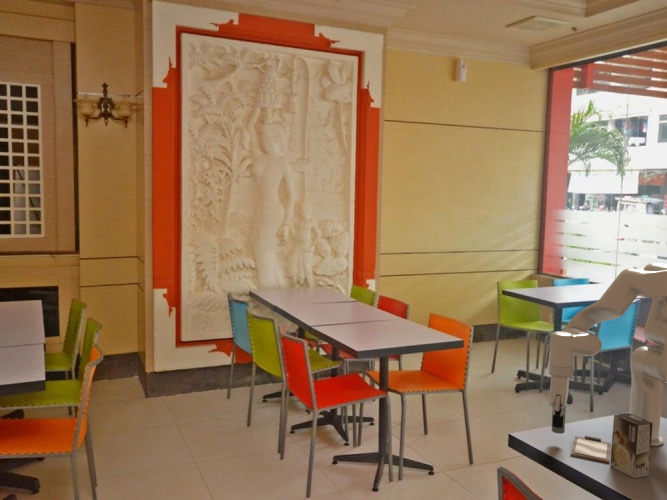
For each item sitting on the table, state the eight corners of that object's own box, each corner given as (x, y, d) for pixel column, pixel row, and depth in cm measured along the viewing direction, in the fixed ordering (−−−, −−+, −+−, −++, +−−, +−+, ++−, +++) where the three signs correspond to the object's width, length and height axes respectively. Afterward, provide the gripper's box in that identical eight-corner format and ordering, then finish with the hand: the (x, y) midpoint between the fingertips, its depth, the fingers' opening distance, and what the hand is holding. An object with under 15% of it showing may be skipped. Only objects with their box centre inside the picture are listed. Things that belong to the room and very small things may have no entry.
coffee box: (649, 475, 180) (654, 422, 179) (634, 479, 178) (638, 425, 176) (623, 462, 189) (628, 412, 187) (608, 465, 186) (612, 414, 185)
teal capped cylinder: (552, 427, 203) (553, 401, 202) (565, 430, 201) (566, 403, 201) (550, 432, 200) (551, 405, 199) (564, 434, 198) (565, 407, 197)
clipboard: (575, 438, 206) (575, 433, 206) (610, 445, 202) (611, 440, 201) (570, 455, 192) (571, 450, 192) (609, 463, 187) (609, 458, 187)
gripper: (551, 362, 208) (549, 414, 209) (545, 375, 193) (542, 431, 194) (575, 365, 204) (572, 418, 206) (570, 378, 189) (568, 436, 191)
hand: (558, 424), depth 200 cm, fingers closed on teal capped cylinder, 4 cm apart
